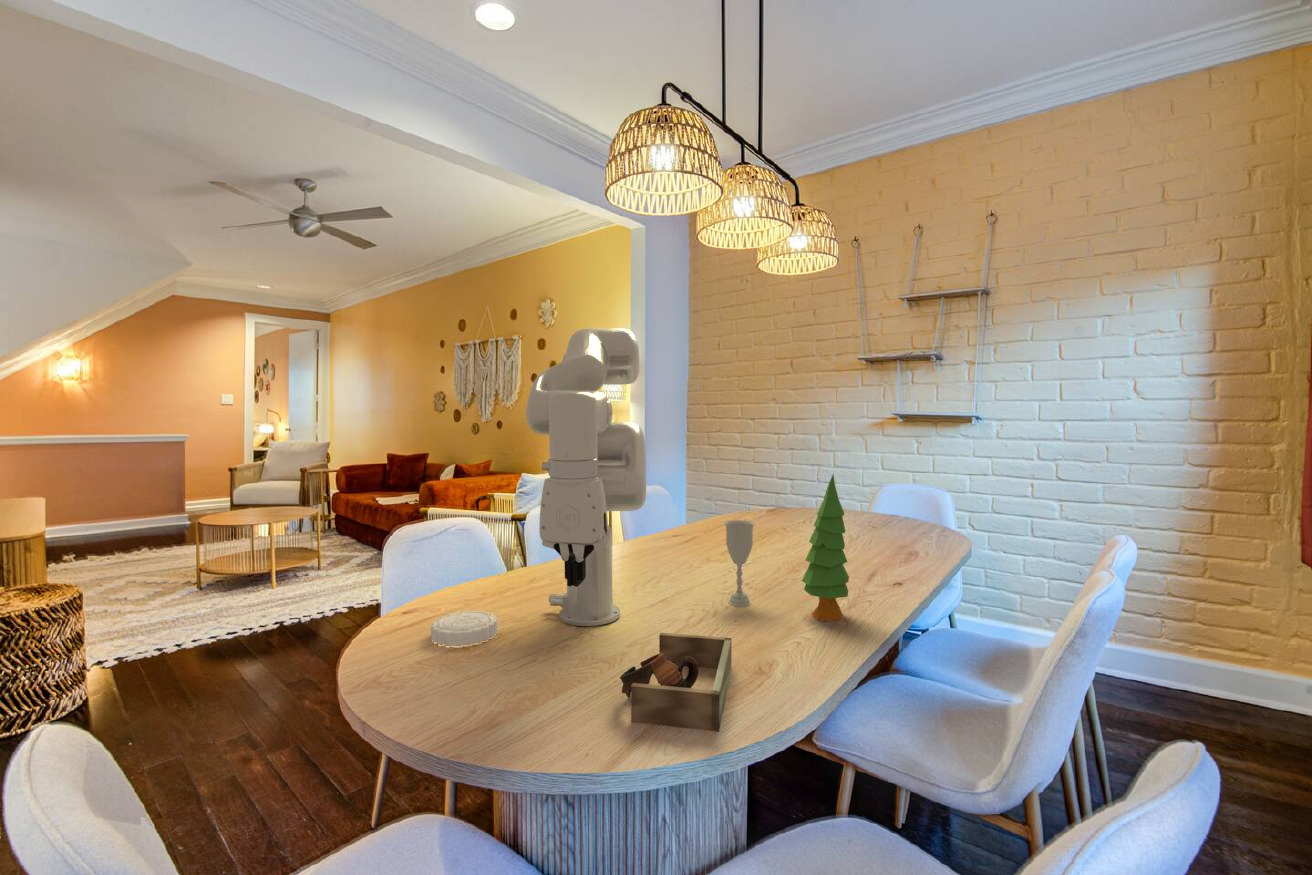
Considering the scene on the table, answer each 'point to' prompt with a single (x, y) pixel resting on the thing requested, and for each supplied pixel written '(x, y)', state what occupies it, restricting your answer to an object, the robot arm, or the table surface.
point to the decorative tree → (827, 558)
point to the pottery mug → (661, 673)
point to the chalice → (739, 554)
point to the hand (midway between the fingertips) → (575, 583)
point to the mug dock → (681, 702)
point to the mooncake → (464, 628)
